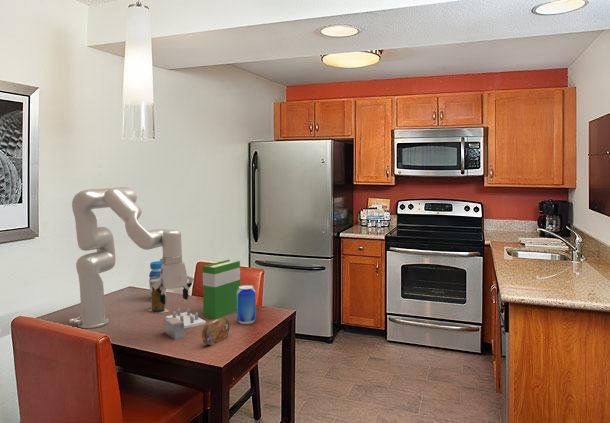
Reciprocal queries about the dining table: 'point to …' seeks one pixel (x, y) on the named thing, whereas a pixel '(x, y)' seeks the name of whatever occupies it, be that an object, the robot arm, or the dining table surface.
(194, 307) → the dining table surface
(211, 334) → the tin
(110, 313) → the dining table surface
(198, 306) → the dining table surface
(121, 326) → the dining table surface
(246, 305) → the beer can
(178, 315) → the white peg board
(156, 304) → the condiment
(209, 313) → the hardback book
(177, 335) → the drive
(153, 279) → the beverage bottle
